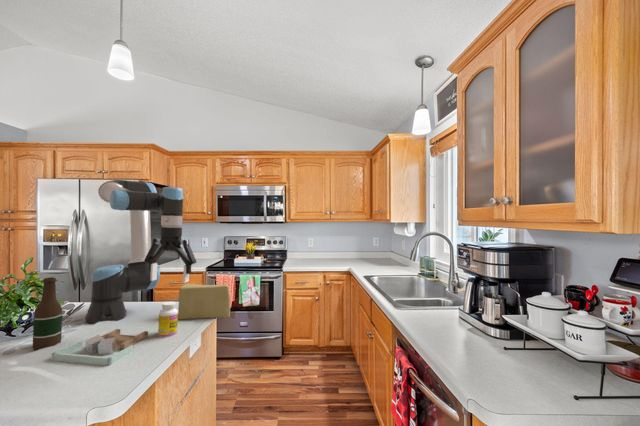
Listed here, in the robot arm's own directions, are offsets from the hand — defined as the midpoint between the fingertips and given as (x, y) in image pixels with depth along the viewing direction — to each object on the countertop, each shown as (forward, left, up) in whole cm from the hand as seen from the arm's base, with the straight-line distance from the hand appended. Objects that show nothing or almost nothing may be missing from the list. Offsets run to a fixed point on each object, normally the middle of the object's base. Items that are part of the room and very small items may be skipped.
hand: (169, 281), depth 119 cm
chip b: (+18, -10, -21) cm, 29 cm away
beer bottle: (+16, -35, -22) cm, 44 cm away
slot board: (+10, -12, -21) cm, 27 cm away
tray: (+21, -12, -21) cm, 32 cm away
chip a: (+17, -15, -21) cm, 31 cm away
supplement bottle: (0, 0, -22) cm, 22 cm away
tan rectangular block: (-24, +3, -22) cm, 33 cm away
